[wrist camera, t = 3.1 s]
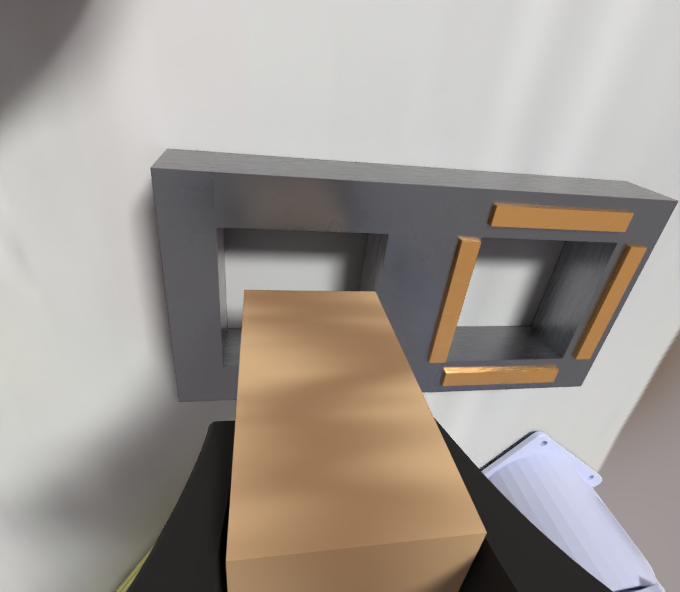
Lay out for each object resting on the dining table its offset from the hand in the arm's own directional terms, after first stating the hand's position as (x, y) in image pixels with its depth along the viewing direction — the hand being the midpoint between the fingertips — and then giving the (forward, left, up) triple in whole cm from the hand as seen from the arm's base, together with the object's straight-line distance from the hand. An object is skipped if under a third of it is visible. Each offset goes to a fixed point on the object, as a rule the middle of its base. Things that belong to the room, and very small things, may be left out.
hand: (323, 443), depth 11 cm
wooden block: (0, 0, -4) cm, 4 cm away
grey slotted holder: (-4, -3, -10) cm, 11 cm away
